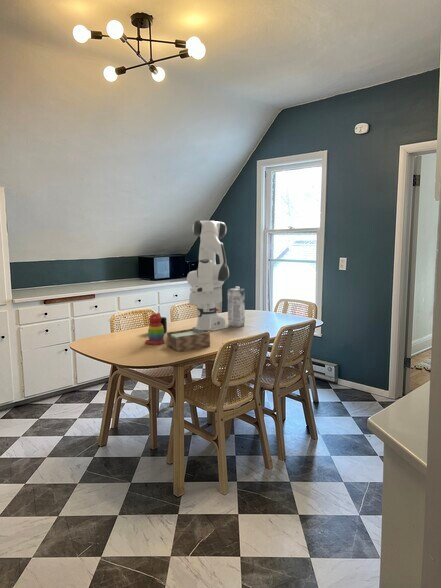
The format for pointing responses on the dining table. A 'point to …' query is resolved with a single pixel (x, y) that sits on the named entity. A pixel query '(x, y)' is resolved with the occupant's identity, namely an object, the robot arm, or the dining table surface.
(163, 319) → the black flat block
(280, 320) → the dining table surface
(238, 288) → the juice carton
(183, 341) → the walnut box
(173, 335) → the cover plate
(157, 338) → the stacking bear
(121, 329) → the dining table surface
